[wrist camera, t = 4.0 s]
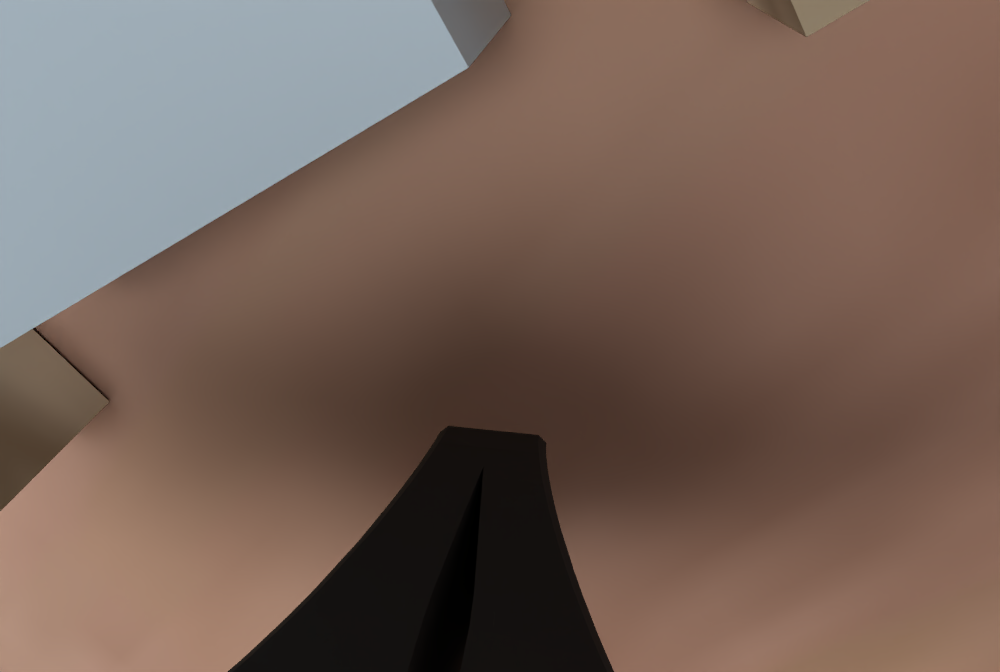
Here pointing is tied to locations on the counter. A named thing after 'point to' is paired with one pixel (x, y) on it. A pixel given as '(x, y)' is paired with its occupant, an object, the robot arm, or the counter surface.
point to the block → (186, 118)
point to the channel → (75, 402)
